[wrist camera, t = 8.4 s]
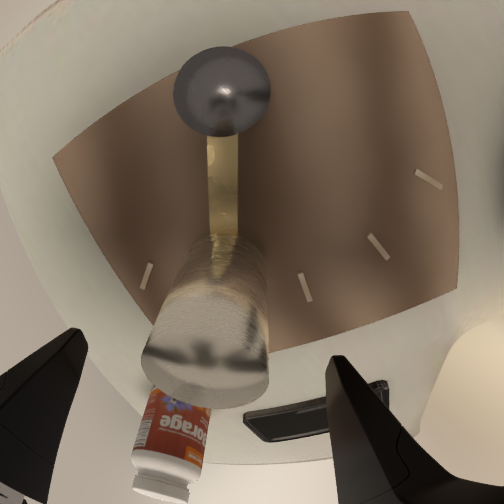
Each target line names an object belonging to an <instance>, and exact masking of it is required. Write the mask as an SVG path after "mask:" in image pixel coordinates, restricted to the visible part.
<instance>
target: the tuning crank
mask: <svg viewBox="0 0 504 504" xmlns="http://www.w3.org/2000/svg"><path fill="white" fill-rule="evenodd" d="M270 94H271V85H270V80H269V77H268V74H267V72H266V70H265V68H264V67H263V65H262V64H261V63H260V62H259V61H258V59H257V58H255V57H254V56H253V55H251V54H250V53H248V52H246V51H244V50H241V49H238V48H234V47H214V48H210V49H207V50H204V51H202V52H200V53H198V54H196V55H195V56H193V57H192V58H190V59H189V60H188V61H187V62H186V63H185V64H184V65H183V67H182V68H181V70H180V71H179V73H178V75H177V77H176V80H175V83H174V88H173V100H174V105H175V108H176V110H177V112H178V114H179V116H180V117H181V119H182V120H183V121H184V122H185V123H186V124H187V125H188V126H189V127H190V128H191V129H193V130H195V131H196V132H199V133H201V134H204V135H207V162H208V195H209V220H210V236H206V237H204V238H202V239H200V240H199V241H197V242H196V243H195V244H193V245H192V247H191V248H190V249H189V251H188V252H187V254H186V256H185V258H184V260H183V262H182V264H181V267H180V269H179V271H178V273H177V275H176V277H175V279H174V281H173V284H172V286H171V288H170V290H169V292H168V295H167V297H166V299H165V301H164V303H163V306H162V308H161V310H160V312H159V315H158V317H157V319H156V322H155V324H154V326H153V329H152V331H151V333H150V336H149V338H148V340H147V343H146V345H145V348H144V350H143V353H142V356H141V365H142V368H143V371H144V373H145V375H146V376H147V378H148V379H149V380H150V381H151V382H152V383H153V384H154V385H155V386H156V387H157V388H158V389H159V390H161V391H162V392H164V393H165V394H167V395H169V396H170V397H172V398H174V399H177V400H179V401H181V402H184V403H187V404H190V405H194V406H198V407H204V408H213V409H226V408H235V407H240V406H243V405H246V404H249V403H251V402H253V401H255V400H257V399H258V398H259V397H261V396H262V395H263V394H264V392H265V391H266V389H267V387H268V384H269V317H268V268H267V263H266V260H265V258H264V256H263V255H262V253H261V252H260V250H259V249H258V248H257V247H256V246H255V245H253V244H252V243H251V242H249V241H248V240H246V239H244V238H241V237H239V133H241V132H244V131H245V130H247V129H249V128H250V127H252V126H253V125H254V124H255V123H256V122H257V121H258V120H259V119H260V118H261V117H262V115H263V114H264V112H265V110H266V109H267V106H268V104H269V100H270Z"/></svg>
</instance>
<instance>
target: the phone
mask: <svg viewBox="0 0 504 504" xmlns="http://www.w3.org/2000/svg"><path fill="white" fill-rule="evenodd" d="M368 385H369V386H370V387H371V388H372V390H373V391H374V392H375V393H376V394H377V396H378V397H379V398H380V399H381V400H382V402H383V403H384V404H385V405H386V406H387V408H388V409H389V387H388V384H387V382H386V381H384V380H380V381H376V382H373V383H370V384H368ZM243 423H244V424H245V425H246V426H247V427H248V428H249V429H250V430H251V431H252V432H254V433H255V434H256V435H257V436H258V437H259V438H260V439H261V440H262V441H264V442H280V441H287V440H293V439H299V438H304V437H309V436H314V435H319V434H323V433H328V432H329V425H328V419H327V404H326V396H325V397H321V398H317V399H313V400H309V401H305V402H300V403H296V404H291V405H286V406H281V407H275V408H270V409H264V410H258V411H251V412H247V413H245V414H244V415H243Z"/></svg>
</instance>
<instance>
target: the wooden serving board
mask: <svg viewBox="0 0 504 504" xmlns="http://www.w3.org/2000/svg"><path fill="white" fill-rule="evenodd" d="M233 47H234V48H238V49H241V50H244V51H246V52H248V53H250V54H251V55H253V56H254V57H255V58H257V59H258V61H259V62H260V63H261V64H262V65H263V67H264V68H265V70H266V72H267V74H268V77H269V80H270V85H271V94H270V100H269V104H268V106H267V109H266V110H265V112H264V114H263V115H262V117H261V118H260V119H259V120H258V121H257V122H256V123H255V124H254V125H253V126H252V127H250V128H249V129H247V130H245V131H244V132H241V133H239V237H241V238H244V239H246V240H248V241H249V242H251V243H252V244H253V245H255V246H256V247H257V248H258V249H259V250H260V252H261V253H262V255H263V256H264V258H265V260H266V263H267V268H268V317H269V353H271V352H275V351H279V350H283V349H287V348H291V347H295V346H299V345H302V344H306V343H310V342H313V341H317V340H320V339H323V338H327V337H330V336H333V335H337V334H340V333H343V332H346V331H349V330H352V329H355V328H358V327H361V326H364V325H367V324H370V323H373V322H376V321H378V320H381V319H384V318H387V317H389V316H392V315H395V314H397V313H400V312H402V311H405V310H407V309H410V308H412V307H415V306H417V305H420V304H422V303H425V302H427V301H429V300H432V299H434V298H436V297H438V296H441V295H443V294H445V293H447V292H449V291H452V290H454V289H456V288H457V281H458V265H459V210H458V195H457V183H456V174H455V166H454V159H453V152H452V146H451V140H450V135H449V130H448V125H447V120H446V116H445V112H444V108H443V104H442V100H441V96H440V93H439V89H438V86H437V82H436V79H435V76H434V73H433V70H432V67H431V64H430V61H429V58H428V56H427V53H426V50H425V48H424V45H423V43H422V40H421V38H420V35H419V33H418V31H417V29H416V26H415V24H414V22H413V20H412V18H411V16H410V13H409V11H396V12H380V13H369V14H360V15H352V16H345V17H339V18H333V19H327V20H322V21H317V22H313V23H308V24H304V25H300V26H296V27H292V28H288V29H284V30H281V31H277V32H274V33H271V34H267V35H264V36H261V37H258V38H255V39H252V40H249V41H246V42H244V43H241V44H238V45H235V46H233ZM179 71H180V70H179ZM179 71H177V72H175V73H173V74H171V75H169V76H167V77H166V78H164V79H162V80H160V81H158V82H156V83H155V84H153V85H151V86H149V87H148V88H146V89H144V90H143V91H141V92H139V93H138V94H136V95H135V96H133V97H131V98H130V99H128V100H127V101H125V102H124V103H122V104H121V105H119V106H118V107H116V108H115V109H113V110H112V111H110V112H109V113H107V114H106V115H105V116H103V117H102V118H100V119H99V120H98V121H96V122H95V123H94V124H92V125H91V126H90V127H88V128H87V129H86V130H84V131H83V132H82V133H81V134H79V135H78V136H77V137H76V138H74V139H73V140H72V141H71V142H70V143H68V144H67V145H66V146H65V147H64V148H62V149H61V150H60V151H59V152H58V153H57V154H56V155H55V156H53V157H52V158H53V160H54V163H55V165H56V167H57V169H58V171H59V174H60V176H61V178H62V180H63V182H64V184H65V186H66V188H67V190H68V192H69V194H70V196H71V198H72V200H73V202H74V204H75V205H76V207H77V209H78V211H79V213H80V215H81V217H82V218H83V220H84V222H85V224H86V226H87V227H88V229H89V231H90V232H91V234H92V236H93V238H94V239H95V241H96V243H97V244H98V246H99V248H100V249H101V251H102V252H103V254H104V256H105V257H106V259H107V260H108V262H109V264H110V265H111V267H112V268H113V270H114V271H115V273H116V274H117V276H118V277H119V279H120V280H121V282H122V283H123V285H124V286H125V288H126V289H127V290H128V292H129V293H130V295H131V296H132V298H133V299H134V300H135V302H136V303H137V304H138V306H139V307H140V309H141V310H142V311H143V313H144V314H145V315H146V317H147V318H148V319H149V321H150V322H151V323H152V325H153V326H154V324H155V322H156V319H157V317H158V315H159V312H160V310H161V308H162V306H163V303H164V301H165V299H166V297H167V295H168V292H169V290H170V288H171V286H172V284H173V281H174V279H175V277H176V275H177V273H178V271H179V269H180V267H181V264H182V262H183V260H184V258H185V256H186V254H187V252H188V251H189V249H190V248H191V247H192V245H193V244H195V243H196V242H197V241H199V240H200V239H202V238H204V237H206V236H210V220H209V195H208V162H207V135H204V134H201V133H199V132H196V131H195V130H193V129H191V128H190V127H189V126H188V125H187V124H186V123H185V122H184V121H183V120H182V119H181V117H180V116H179V114H178V112H177V110H176V108H175V105H174V100H173V88H174V83H175V80H176V77H177V75H178V73H179Z"/></svg>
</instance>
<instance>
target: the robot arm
mask: <svg viewBox="0 0 504 504" xmlns="http://www.w3.org/2000/svg"><path fill="white" fill-rule="evenodd" d="M87 352H88V343H87V341H86V339H85V337H84V334H83V332H82V331H81V330H80V329H77V328H70V329H68V330H67V331H65V332H64V333H62V334H61V335H59V336H58V337H56V338H55V339H53V340H52V341H50V342H49V343H47V344H46V345H44V346H43V347H41V348H40V349H38V350H37V351H36V352H34V353H33V354H31V355H29V356H28V357H26V358H25V359H24V360H22V361H21V362H19V363H18V364H17V365H15V366H14V367H12V368H11V369H9V370H8V371H7V372H5V373H4V374H2V375H1V376H0V504H27V502H26V500H25V499H23V498H24V495H25V496H28V497H29V498H32V499H34V500H36V501H38V502H41V503H43V504H47V500H48V494H49V488H50V483H51V478H52V474H53V469H54V464H55V460H56V456H57V452H58V448H59V444H60V441H61V437H62V434H63V430H64V427H65V423H66V420H67V417H68V414H69V411H70V407H71V405H72V402H73V399H74V396H75V393H76V390H77V387H78V384H79V381H80V377H81V374H82V370H83V366H84V362H85V359H86V355H87ZM325 379H326V404H327V419H328V425H329V432H330V439H331V446H332V453H333V460H334V468H335V477H336V485H337V493H338V502H339V504H504V486H495V485H488V484H483V483H478V482H474V481H469V480H465V479H461V478H458V477H456V476H454V475H452V474H450V473H449V472H448V471H447V470H445V469H444V468H443V467H442V466H441V465H440V464H439V463H438V462H437V461H436V460H435V459H433V458H432V457H431V456H430V455H429V454H428V453H427V452H426V451H425V450H424V449H423V448H422V447H421V446H420V445H419V444H418V443H417V442H416V441H415V440H414V438H413V437H412V436H411V435H410V434H409V433H408V432H407V430H406V429H405V428H404V427H403V426H402V425H401V423H400V422H399V421H398V420H397V418H396V417H395V416H394V415H393V414H392V412H391V411H390V410H389V409H388V408H387V406H386V405H385V404H384V403H383V402H382V400H381V399H380V398H379V397H378V396H377V394H376V393H375V392H374V391H373V390H372V388H371V387H370V386H369V385H368V384H367V382H366V381H365V380H364V379H363V378H362V376H361V375H360V374H359V373H358V372H357V370H356V369H355V368H354V367H353V366H352V364H351V363H350V362H349V361H348V360H347V359H346V357H345V356H343V355H334V356H332V357H331V359H330V361H329V364H328V366H327V369H326V373H325Z"/></svg>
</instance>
